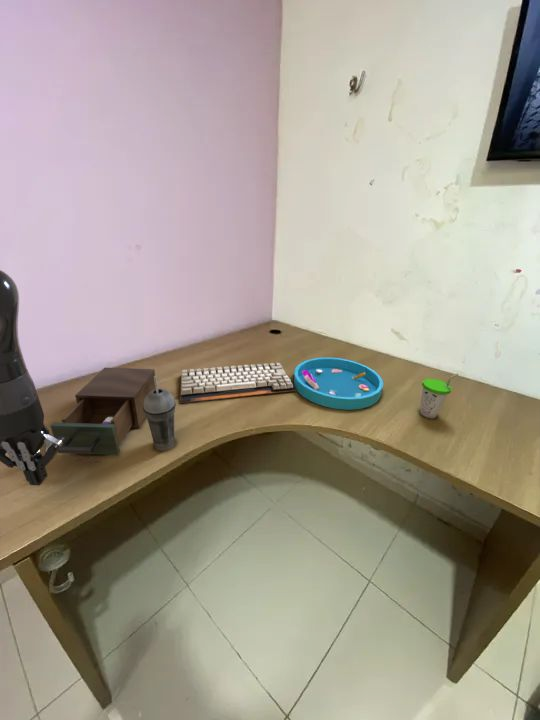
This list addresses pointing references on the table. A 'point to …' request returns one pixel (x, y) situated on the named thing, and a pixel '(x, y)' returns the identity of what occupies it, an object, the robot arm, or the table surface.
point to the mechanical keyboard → (233, 382)
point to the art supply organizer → (338, 383)
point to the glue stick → (107, 420)
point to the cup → (434, 396)
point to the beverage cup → (160, 417)
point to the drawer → (95, 426)
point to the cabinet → (121, 388)
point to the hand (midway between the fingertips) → (38, 481)
